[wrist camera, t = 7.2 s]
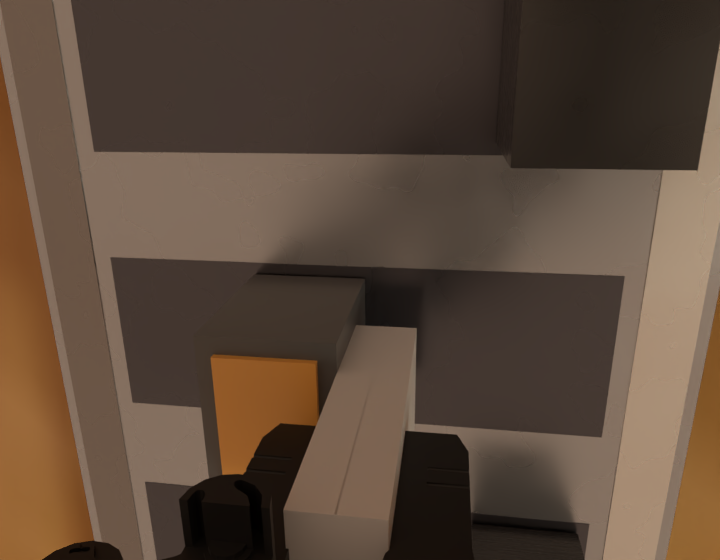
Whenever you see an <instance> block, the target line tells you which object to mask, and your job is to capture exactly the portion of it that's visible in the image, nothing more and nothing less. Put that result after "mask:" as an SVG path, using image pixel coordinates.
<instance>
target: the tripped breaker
mask: <svg viewBox="0 0 720 560" xmlns="http://www.w3.org/2000/svg"><path fill="white" fill-rule="evenodd" d="M356 325H364V326H365V279H358V278H333V277H307V276H282V275H257V274H254V275H253V276H252V277H251V278H250V279H249V280H248V281H247V282H246V283H245V284H244V285H243V286H242V287H241V288H240V289H239V290H238V291H237V292H236V293H235V294H234V295H233V296H232V297H231V298H230V299H229V300H228V301H227V302H226V303H225V304H224V305H223V306H222V307H221V308H220V309H219V310H218V311H217V312H216V313H215V314H214V315H213V316H212V317H211V318H210V319H209V320H208V321H207V322H206V323H205V324H204V325H203V326H202V327H201V328H200V329H199V330H198V331H197V332H196V333H195V334H194V335H193V340H194V349H195V358H196V367H197V376H198V385H199V394H200V403H201V412H202V421H203V430H204V439H205V448H206V457H207V466H208V475H209V478H212V477H216V476H219V475H227V474H242V475H243V474H244V472H246V468H247V466H248V464H249V462H250V460H251V458H253V457H254V453H255V451H256V449H257V447H258V445H259V443H260V441H261V439H262V438H263V437H264V436H265V435H266V434H267V433H269V432H270V431H271V430H272V429H274V428H275V427H276V426H277V425H279V424H280V423H284V424H298V425H311V426H316V425H317V422H318V420H319V417H320V415H321V412H322V410H323V407H324V405H325V402H326V399H327V397H328V394H329V392H330V389H331V387H332V384H333V382H334V379H335V376H336V374H337V372H338V370H339V367H340V365H341V362H342V360H343V357H344V354H345V352H346V349H347V347H348V344H349V342H350V339H351V337H352V334H353V332H354V329H355V327H356Z"/></svg>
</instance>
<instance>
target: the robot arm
mask: <svg viewBox="0 0 720 560" xmlns="http://www.w3.org/2000/svg"><path fill="white" fill-rule="evenodd" d="M416 337H417V328H404V327H384V326H364V325H356V327H355V329H354V332H353V334H352V337H351V339H350V342H349V344H348V347H347V349H346V352H345V354H344V357H343V360H342V362H341V365H340V367H339V370H338V372H337V374H336V376H335V379H334V382H333V384H332V387H331V389H330V392H329V394H328V397H327V399H326V402H325V405H324V407H323V410H322V412H321V415H320V417H319V420H318V422H317V425H316V426H311V425H298V424H284V423H280V424H279V425H277V426H276V427H275V428H274V429H272V430H271V431H270V432H269V433H267V434H266V435H265V436H264V437H263V438H262V439H261V441H260V443H259V445H258V447H257V449H256V451H255V453H254V457H253V458H251V460H250V462H249V464H248V466H247V468H246V472H244V474H243V475H242V474H227V475H219V476H216V477H212V478H209V479H205V480H203V481H201V482H200V483H198V484H196V485H194V486H193V487H191V488H189V489H188V490H187V491H186V493H185V494H184V495H183V496H182V497H181V498H180V499H179V505H180V512H181V520H182V527H183V535H184V542H185V547H184V549H183V551H182V553H181V554H179V555H177V556H174V557H170V558H166V559H162V560H474V555H473V550H472V528H471V502H470V476H469V451H468V450H467V448H466V447H465V445H464V444H463V443H462V441H461V440H460V438H459V437H458V435H456V434H443V433H429V432H416V431H414V426H415V382H416ZM42 560H123V557H122V555H121V552H120V550H119V549H117V548H116V547H114V546H112V545H111V544H109V543H105V542H98V541H88V542H81V543H74V544H72V545H69V546H67V547H64V548H62V549H59V550H56V551H54V552H53V553H51V554H50V555H48V556H47V557H45V558H44V559H42Z"/></svg>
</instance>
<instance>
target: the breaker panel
mask: <svg viewBox="0 0 720 560" xmlns="http://www.w3.org/2000/svg"><path fill="white" fill-rule="evenodd" d="M0 57H1V63H2V68H3V73H4V78H5V83H6V88H7V93H8V99H9V104H10V109H11V114H12V119H13V124H14V129H15V135H16V140H17V145H18V150H19V155H20V160H21V165H22V171H23V176H24V181H25V186H26V191H27V196H28V201H29V207H30V212H31V217H32V222H33V227H34V232H35V237H36V243H37V248H38V253H39V258H40V263H41V268H42V273H43V279H44V284H45V289H46V294H47V299H48V304H49V309H50V315H51V320H52V325H53V330H54V335H55V340H56V346H57V351H58V356H59V361H60V366H61V371H62V376H63V382H64V387H65V392H66V397H67V402H68V407H69V412H70V418H71V423H72V428H73V433H74V438H75V443H76V448H77V454H78V459H79V464H80V469H81V474H82V479H83V484H84V490H85V495H86V500H87V505H88V510H89V515H90V520H91V526H92V531H93V536H94V541H98V542H105V543H109V544H111V545H112V546H114V547H116V548H117V549H119V550H120V552H121V555H122V557H123V560H162V559H166V558H170V557H174V556H177V555H179V554H181V553H182V551H183V549H184V547H185V542H184V535H183V527H182V520H181V512H180V505H179V499H180V498H181V497H182V496H183V495H184V494H185V493H186V491H187V490H188V489H189V488H191V487H193V486H194V485H196V484H198V483H200V482H201V481H203V480H205V479H209V475H208V466H207V457H206V448H205V439H204V430H203V421H202V412H201V403H200V394H199V385H198V376H197V367H196V358H195V349H194V340H193V335H194V334H195V333H196V332H197V331H198V330H199V329H200V328H201V327H202V326H203V325H204V324H205V323H206V322H207V321H208V320H209V319H210V318H211V317H212V316H213V315H214V314H215V313H216V312H217V311H218V310H219V309H220V308H221V307H222V306H223V305H224V304H225V303H226V302H227V301H228V300H229V299H230V298H231V297H232V296H233V295H234V294H235V293H236V292H237V291H238V290H239V289H240V288H241V287H242V286H243V285H244V284H245V283H246V282H247V281H248V280H249V279H250V278H251V277H252V276H253V275H254V274H257V275H282V276H307V277H333V278H358V279H365V326H384V327H404V328H417V337H416V382H415V426H414V431H416V432H429V433H443V434H456V435H458V437H459V438H460V440H461V441H462V443H463V444H464V445H465V447H466V448H467V450H468V451H469V476H470V502H471V528H472V550H473V555H474V560H666V555H667V550H668V545H669V540H670V535H671V530H672V525H673V520H674V515H675V509H676V504H677V499H678V494H679V489H680V484H681V479H682V474H683V469H684V464H685V459H686V454H687V449H688V444H689V439H690V434H691V429H692V424H693V419H694V414H695V409H696V404H697V399H698V394H699V389H700V384H701V379H702V374H703V369H704V364H705V359H706V353H707V348H708V343H709V338H710V333H711V328H712V323H713V318H714V313H715V308H716V303H717V298H718V293H719V288H720V0H0Z"/></svg>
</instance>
